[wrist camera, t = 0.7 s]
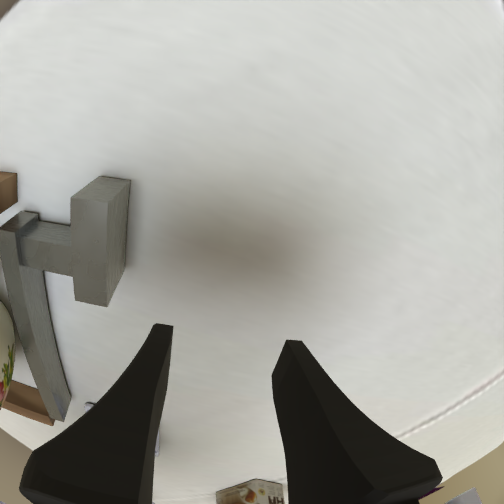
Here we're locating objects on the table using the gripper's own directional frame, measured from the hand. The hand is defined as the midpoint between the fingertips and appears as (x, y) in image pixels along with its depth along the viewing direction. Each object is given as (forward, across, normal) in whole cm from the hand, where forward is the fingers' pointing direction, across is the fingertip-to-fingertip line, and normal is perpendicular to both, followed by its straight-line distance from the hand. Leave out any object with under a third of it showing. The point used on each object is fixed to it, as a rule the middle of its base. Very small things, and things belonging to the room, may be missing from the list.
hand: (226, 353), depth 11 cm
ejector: (+9, +10, +9) cm, 16 cm away
